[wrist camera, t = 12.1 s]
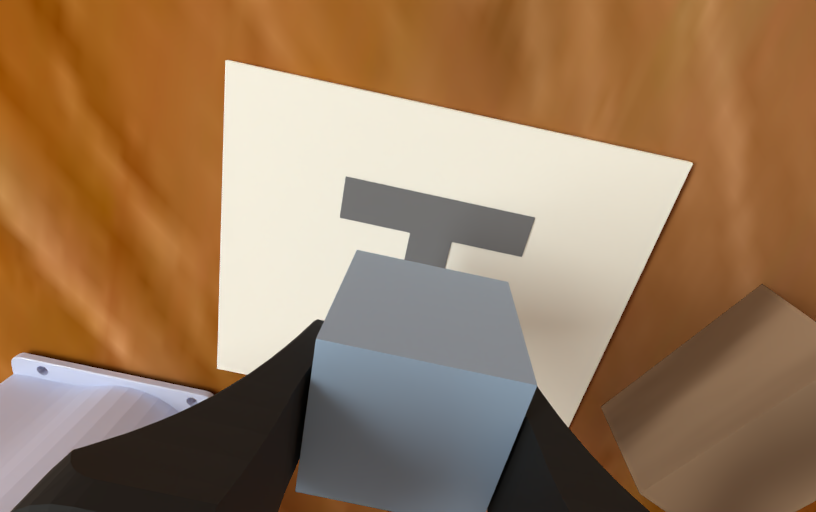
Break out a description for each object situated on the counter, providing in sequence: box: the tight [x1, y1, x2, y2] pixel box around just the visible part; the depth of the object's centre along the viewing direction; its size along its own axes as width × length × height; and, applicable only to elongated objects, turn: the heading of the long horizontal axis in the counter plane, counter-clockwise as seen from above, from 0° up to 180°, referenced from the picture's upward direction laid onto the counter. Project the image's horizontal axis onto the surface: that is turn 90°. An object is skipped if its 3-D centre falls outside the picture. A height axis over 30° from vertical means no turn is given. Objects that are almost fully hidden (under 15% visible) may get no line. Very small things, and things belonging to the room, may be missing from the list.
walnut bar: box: [601, 284, 816, 512], centre depth 17 cm, size 4×8×4 cm, turn 143°
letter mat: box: [217, 60, 693, 427], centre depth 18 cm, size 16×13×1 cm
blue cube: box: [295, 250, 537, 512], centre depth 12 cm, size 4×4×4 cm
